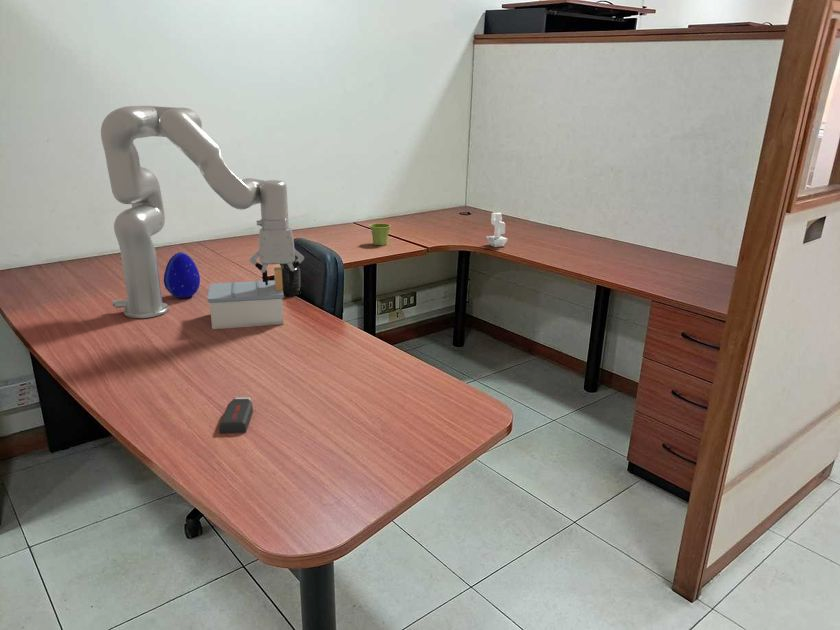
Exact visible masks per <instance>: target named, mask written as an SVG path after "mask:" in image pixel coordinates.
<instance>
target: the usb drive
mask: <svg viewBox="0 0 840 630" xmlns="http://www.w3.org/2000/svg"><path fill="white" fill-rule="evenodd" d="M253 413H254V406H253V403H252V398H251V397H248V396H247V397H234V398H233V399H232V400H231V401H230V402H229V403H228V404H227V406H226V409H225V410H224V413H223V415H222V417H221V420H220V421H219V427H218V429H219V430H218V431H219V434H246V433H247V431H248V428H249V425H250V422H251V420H252V419H251V418H252V416H253Z"/></svg>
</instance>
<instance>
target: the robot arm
mask: <svg viewBox="0 0 840 630" xmlns="http://www.w3.org/2000/svg"><path fill="white" fill-rule="evenodd" d="M202 124H203V123H202V120H201V118H200V116H199V115H198V113H197V112H196V111H195V110H192V109H191V108H188V107H170V106H158V105H157V106H155V105H130V106H129V105H128V106H122V107H119V108H116V109H115V110H112V111H111V112H109V113H108V114H107V115H106V116H105V117H104V119H103V120H102V123H101V127H100V138H101V143H102V147H103V151H104V154H105V160H106V161H105V162H106V167H107V173H108V178H109V183H110V189H111V192H112V195H113V197H114V199H115V200H117V202H119V203H120V204H122V205H123V204H124V205H131V207H130V208H127V209H125V210H123V211H122V212H120V213H119V214H118V215H117V216H116V218H115V219H114V223H113V228H114V229H113V231H114V235H115V238H116V240H117V244H118V246H119V251H120V256H121V262H122V263H121V264H122V269H123V277H124V282H125V290H126V297H127V298H124V299H113V300H112V306H113V307H115V308H116V309H121V308H123V314H124V316H126V317H128V318H133V319H147V318H148V319H149V318H154V317H158V316H161V315H164V314H166V313H167V312H169V310H170V308H169V304H167V303H165V302H163V297H162V289H161V282H160V280H161V279H160V273H159V265H158V263H159V262H158V258H157V250H156V247H155V245H154V243H153V240H152V237H151V236H154V235H156V234H158V233H160V232H161V230H163V228H164V226H165V223H166V215H165V208H164V204H163V203H164V202H163V198H162V191H161V185H160V182H159V180H158V177H157V176H156V175H155V173H153V171H151V170H150V169H148V168H146V167H142V166H141V163H140V157H139V152H138V149H137V148H136V145H135V144H134V140H136V139H142V138H148V137H160V138H167V140H169V141H170V142H171V143H172V144H173V145H175V147H176V148H178V149H179V150H180V152H182V153H183V154H184V155H185V156H186V157H187V158H188V159H189V160H190V161H191V162H192V163H193V164H194V165H195V166H196V167H197V168H198V169H199V171H200V173H201V175H202V177H203V178H204V179H205V182H206V183H207V184H208V186H209V187H210V188H211V189H212V190H213V191H214V192H215V194H217V195H218V197H220V198H221V199H222V200H223V201H224V202H225V203H227V204H228V205H229V206H230V207H232V208H234V209H235V210H246V209H249V208H251V207H252V206H255V205H259V204H260V214H261V217H260V218H261V219H260V220H256V226H259V227H261V228H260V229H259V233H258V250H257V251H255V253H254V254H253V255H252V256H251V257H250V258H249V262H250V263H251V264H252V265H254V266H255V268H257V269H258V270H259V271H260V272H261V274H262V275H261V276H262V281H263V282H265V285H268V281H269V280H268V270H267V268H268V265H282V264H288V266H289V270H288V273H289V284H292V281H294V270H295V269H296V267H299V265H300V264H301V263H302V262H303V261H304V260H305V256H304V255H303V254H301V252H300V251H298V250H297V249H296V248H295V242H294V234H293V230H292V228H291V227H289V210H288V190H287V189H288V188H287V184H286V182H284V181H282V180H277V179H275V180H274V179H271V180H270V179H269V180H263V179H257V178H251V177H249V178H248V177H247V178H243V179H240V178H239V177H237V175H235V173H233V171H231V169H230V168H229V167H228V165H227V164H226V163H225V161H224V159H223V155H222V149H221V147H220V144H219V143H218V142H217V141H215V139H214V138H212V137H211V136H210V135H209V134H208V133H207V132H206V131H205V130H204V129H203V127H202V126H203V125H202ZM296 257H297V258H296ZM258 258H259V261H257V259H258ZM295 259H296V261H295ZM294 261H295V262H294ZM292 262H294V263H293V264H292Z"/></svg>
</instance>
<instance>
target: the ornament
mask: <svg viewBox="0 0 840 630" xmlns="http://www.w3.org/2000/svg"><path fill="white" fill-rule="evenodd" d="M163 284H164V288H165V289H166V290H167V292H169V294H170V295H172V296H174V297H177V298H180V299H183V298H184V299H185V298H190V297H192V296H194V295H195V294H196V293H197V291H198V290H199V287H200V284H201V275H200V273H199V269H198V268H197V264H196V263H195V261H193V259H192V258H191V257H190V256H189V254H187V253H185V252H181V251H180V252H177V253H174V255H172V256H171V257H170V259H169V260H168V262H167V263H166V266H165V270H164V275H163Z"/></svg>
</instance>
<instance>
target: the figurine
mask: <svg viewBox="0 0 840 630" xmlns="http://www.w3.org/2000/svg"><path fill="white" fill-rule="evenodd" d="M490 215H491V218H490V223H491V225H492V226H494V231H493V232H494V233H493V234H494V235H491V236H486V239H487V242H488V244H489V246H491V247H494V248H497V247H498V248H500V247H504V245H505V244H506V243H507V242H508V240H509V238H507V237H504V236H502V235H505V233H506V223H505V222H504V221H502V220H503V213H502V212H492V213H491V214H490Z"/></svg>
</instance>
